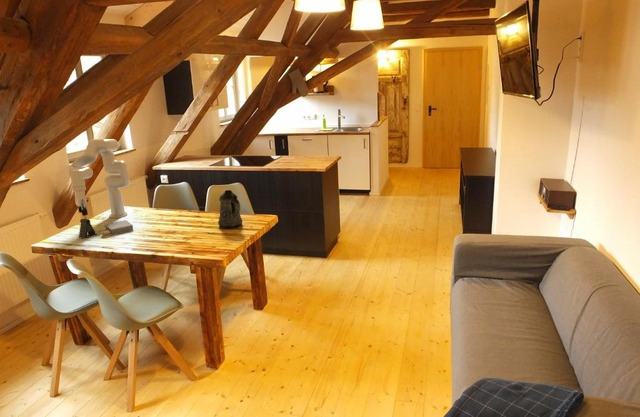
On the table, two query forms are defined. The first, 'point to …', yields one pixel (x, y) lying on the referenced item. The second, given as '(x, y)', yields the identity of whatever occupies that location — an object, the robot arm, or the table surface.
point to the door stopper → (86, 229)
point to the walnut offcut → (106, 233)
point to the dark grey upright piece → (229, 211)
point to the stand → (119, 227)
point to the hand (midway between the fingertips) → (83, 213)
